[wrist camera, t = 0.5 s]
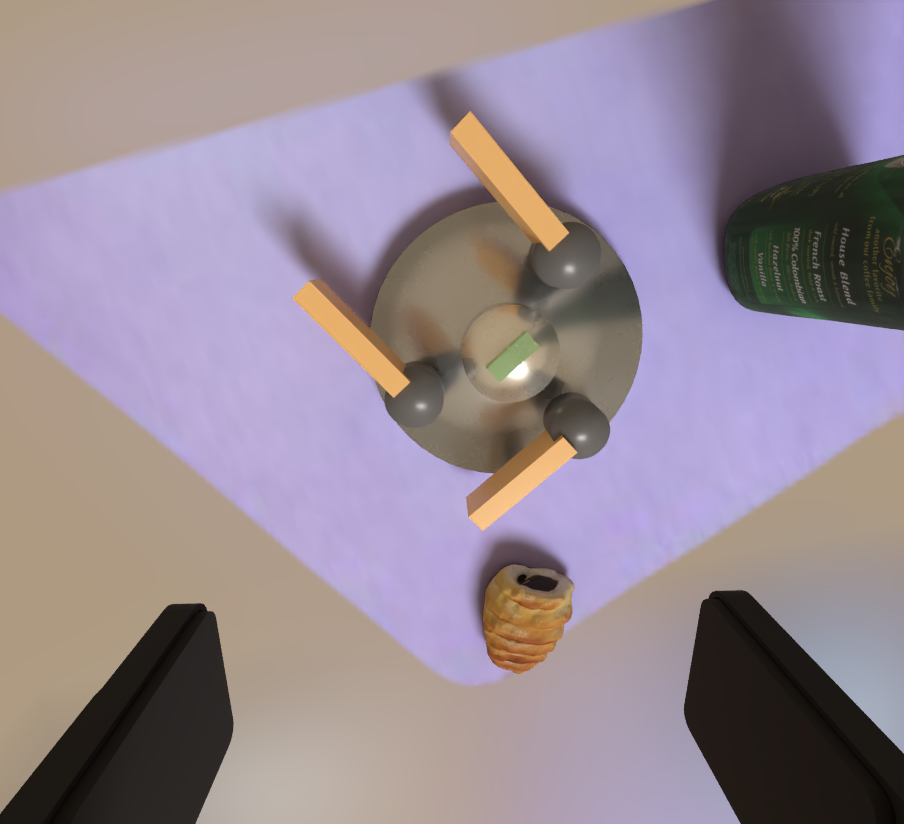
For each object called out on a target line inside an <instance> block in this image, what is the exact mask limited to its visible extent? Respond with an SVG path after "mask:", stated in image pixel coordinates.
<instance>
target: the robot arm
mask: <svg viewBox="0 0 904 824" xmlns="http://www.w3.org/2000/svg"><path fill="white" fill-rule="evenodd" d="M684 715H685V719H686V723H687V726H688V728H689V730H690V732H691V734H692V736H693V738H694V739H695V741H696V743H697V745H698V747H699V749H700V750H701V752H702V754H703V756H704V758H705V759H706V761H707V763H708V765H709V767H710V769H711V770H712V772H713V774H714V776H715V778H716V779H717V781H718V783H719V785H720V787H721V788H722V790H723V792H724V794H725V796H726V798H727V800H728V801H729V803H730V805H731V807H732V809H733V810H734V812H735V814H736V816H737V818H738V820H739V821H740V823H741V824H904V754H903V753H902V751H901V750H899V748H898V747H897V746H896V745H895V744H894V743H893V742H892V741H891V740H890V739H889V738H888V737H887V736H886V735H885V734H884V733H883V732H882V731H881V730H880V729H879V728H878V727H877V726H876V724H875V723H874V722H873V721H872V720H871V719H870V718H869V717H868V716H867V715H866V714H865V713H864V712H863V711H862V710H861V709H860V708H859V707H858V706H857V705H856V704H855V703H854V702H853V701H852V700H851V699H850V698H849V696H848V695H847V694H846V693H845V692H844V691H843V690H842V689H841V688H840V687H839V686H838V685H837V684H836V683H835V682H834V681H833V680H832V679H831V678H830V677H829V676H828V675H827V674H826V673H825V671H823V669H822V668H821V667H820V666H819V665H818V664H817V663H816V662H815V661H814V660H813V659H812V658H811V657H810V656H809V655H808V654H807V653H806V652H805V651H804V650H803V649H802V648H801V647H800V646H799V645H798V644H797V643H796V642H795V640H794V639H793V638H792V637H791V636H790V635H789V634H788V633H787V632H786V631H785V630H784V629H783V628H782V627H781V626H780V625H779V624H778V623H777V622H776V621H775V620H774V619H773V618H772V617H771V615H770V614H769V613H768V612H767V611H766V610H765V609H764V608H763V607H762V606H761V605H760V604H759V603H758V602H757V601H756V600H755V599H754V598H753V597H752V596H751V595H750V594H749V593H748V592H746V591H743V590H738V591H737V590H736V591H714V592H712V593H711V594H710V596H709V599H705V600H703V602H702V604H701V608H700V614H699V620H698V627H697V633H696V639H695V644H694V651H693V656H692V662H691V668H690V674H689V680H688V686H687V692H686V698H685V704H684ZM232 733H233V716H232V710H231V704H230V698H229V693H228V686H227V680H226V675H225V668H224V662H223V657H222V651H221V645H220V639H219V633H218V627H217V621H216V617H215V614H214V612H211V611H207V609H206V607H205V605H204V604H201V603H199V604H171V605H169V606H167V607H166V608H165V609H164V611H163V612H162V613H161V614H160V616H159V617H158V618H157V619H156V621H155V622H154V623H153V624H152V626H151V627H150V628H149V630H148V631H147V632H146V633H145V635H144V636H143V637H142V638H141V640H140V641H139V642H138V643H137V645H136V646H135V647H134V648H133V650H132V651H131V652H130V654H129V655H128V656H127V657H126V659H125V660H124V661H123V663H122V664H121V665H120V666H119V667H118V669H117V670H116V671H115V673H114V674H113V675H112V676H111V678H110V679H109V680H108V681H107V683H106V684H105V685H104V686H103V688H102V689H101V690H100V691H99V692H98V693H97V694H96V695H95V696H94V697H93V698H92V700H91V701H90V702H89V703H88V704H87V706H86V707H85V708H84V710H83V711H82V712H81V713H80V714H79V716H78V717H77V718H76V719H75V721H74V722H73V723H72V725H71V726H70V727H69V728H68V730H67V731H66V732H65V733H64V735H63V736H62V737H61V738H60V740H59V741H58V742H57V743H56V745H55V746H54V747H53V748H52V750H51V751H50V752H49V753H48V755H47V756H46V757H45V758H44V760H43V761H42V762H41V764H40V765H39V766H38V767H37V768H36V770H35V771H34V772H33V773H32V775H31V776H30V777H29V779H28V780H27V781H26V782H25V784H24V785H23V786H22V787H21V789H20V790H19V791H18V792H17V794H16V795H15V796H14V797H13V799H12V800H11V801H10V802H9V804H8V805H7V806H6V807H5V809H4V810H3V811H2V812H1V814H0V824H195V823H196V821H197V818H198V816H199V814H200V812H201V809H202V807H203V805H204V802H205V800H206V798H207V795H208V793H209V791H210V788H211V786H212V784H213V781H214V779H215V777H216V775H217V772H218V770H219V768H220V765H221V763H222V761H223V758H224V756H225V754H226V751H227V749H228V747H229V744H230V741H231V738H232Z"/></svg>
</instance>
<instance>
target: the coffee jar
mask: <svg viewBox="0 0 904 824" xmlns="http://www.w3.org/2000/svg"><path fill="white" fill-rule="evenodd" d="M724 264H725V272H726V277H727V281H728V285H729V288H730V291H731V293H732V295H733V296H734V298H735V300H736V301H737V302H738V303H739V304H741V305H742V306H743V307H745V308H747V309H750V310H753V311H758V312H765V313H771V314H779V315H787V316H795V317H804V318H814V319H822V320H830V321H838V322H845V323H853V324H860V325H867V326H874V327H881V328H889V329H898V330H904V155H902V156H897V157H893V158H888V159H884V160H879V161H875V162H870V163H865V164H860V165H855V166H850V167H845V168H841V169H837V170H832V171H828V172H824V173H819V174H815V175H811V176H807V177H803V178H800V179H796V180H793V181H789V182H786V183H783V184H780V185H777V186H775V187H772V188H770V189H767V190H765V191H763V192H760V193H758V194H756V195H754V196H752V197H751V198H749V199H748V200H746V201H745V202H743V203H742V204H741V205H740V206H739V207H738V209H737V210H736V211H735V212H734V214H733V215H732V217H731V219H730V221H729V223H728V225H727V229H726V233H725V239H724Z"/></svg>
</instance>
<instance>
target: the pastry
mask: <svg viewBox="0 0 904 824" xmlns="http://www.w3.org/2000/svg"><path fill="white" fill-rule="evenodd" d="M573 590H574V584H573V582H572V581H571V579H570V578H568V577H566V576H564V575H563V574H559V573H557V572H556V571H555V570H551V569H548V568H532V569H530V568H527V567H525V566H522V565H516V564H512V565H509V566H506V567H504V568H503V569H502V570H500V571H499V572H498V573H497V574H496V576H495V577H494V578H493V579H492V580H491V582H490V583H489V585H488V587H487V589H486V592H485V603H484V610H483V616H482V619H483V628H484V633H485V640H486V645H487V653H488V656H489V657H490V659H491V660H492V662H493V663H494V664H495V665H496V666H498V667H500V668H503V669H506V670H511V671H512V672H514V673H517V674H521V673H523V672H524V671H528V670H530V669H531V668H533V667H534V666H535V665H536V664H537V663H538V662H542V661H544V660H545V658H546V656H547V653H548V652H551V651H553V650H554V648H555V645H556V641H557V640H559V639H560V638H561V637H562V635H563V631H564V623H566V622H568V621H569V620H570V618H571V615H572V603H571V597H572V592H573Z"/></svg>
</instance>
